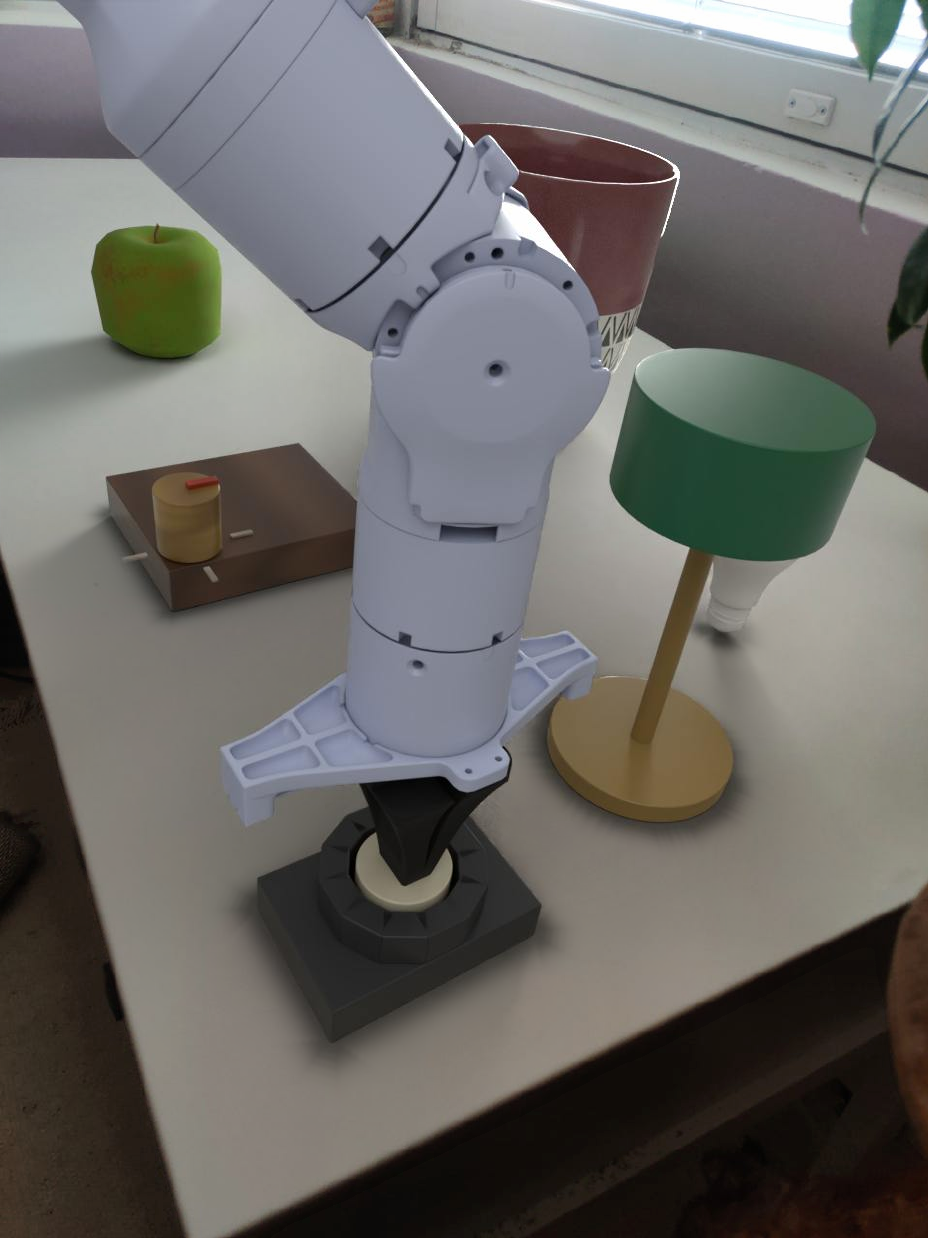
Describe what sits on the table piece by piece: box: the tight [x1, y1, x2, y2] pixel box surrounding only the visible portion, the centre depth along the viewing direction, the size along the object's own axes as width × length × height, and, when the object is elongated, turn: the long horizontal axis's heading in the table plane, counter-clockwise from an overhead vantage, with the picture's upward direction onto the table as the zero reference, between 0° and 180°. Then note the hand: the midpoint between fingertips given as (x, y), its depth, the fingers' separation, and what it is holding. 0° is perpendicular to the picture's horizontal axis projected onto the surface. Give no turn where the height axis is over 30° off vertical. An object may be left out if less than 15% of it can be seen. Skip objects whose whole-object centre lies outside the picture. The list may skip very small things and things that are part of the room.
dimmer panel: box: [105, 442, 357, 612], centre depth 61 cm, size 16×14×3 cm
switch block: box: [256, 805, 543, 1043], centre depth 40 cm, size 10×7×4 cm
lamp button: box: [354, 833, 453, 912], centre depth 39 cm, size 4×4×2 cm
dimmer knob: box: [152, 472, 222, 563], centre depth 55 cm, size 4×4×4 cm
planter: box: [456, 122, 680, 377], centre depth 79 cm, size 20×20×21 cm
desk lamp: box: [546, 347, 877, 823], centre depth 45 cm, size 10×10×21 cm
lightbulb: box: [705, 555, 800, 633], centre depth 58 cm, size 6×6×11 cm
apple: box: [90, 222, 223, 359], centre depth 84 cm, size 11×11×11 cm
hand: (405, 863), depth 39 cm, fingers closed, pressing on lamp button
